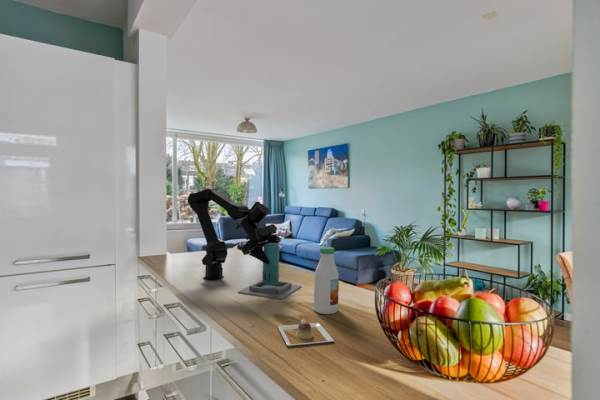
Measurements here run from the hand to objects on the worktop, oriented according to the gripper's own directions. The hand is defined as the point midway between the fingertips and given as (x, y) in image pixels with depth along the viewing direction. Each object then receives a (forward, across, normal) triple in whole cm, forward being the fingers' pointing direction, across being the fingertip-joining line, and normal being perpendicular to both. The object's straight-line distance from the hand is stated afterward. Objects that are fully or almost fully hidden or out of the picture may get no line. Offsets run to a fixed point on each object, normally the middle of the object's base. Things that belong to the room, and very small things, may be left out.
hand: (274, 262), depth 126 cm
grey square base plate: (+7, 0, +8) cm, 11 cm away
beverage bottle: (+6, 0, +8) cm, 10 cm away
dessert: (+30, -28, -14) cm, 43 cm away
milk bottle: (+26, -8, -11) cm, 30 cm away
